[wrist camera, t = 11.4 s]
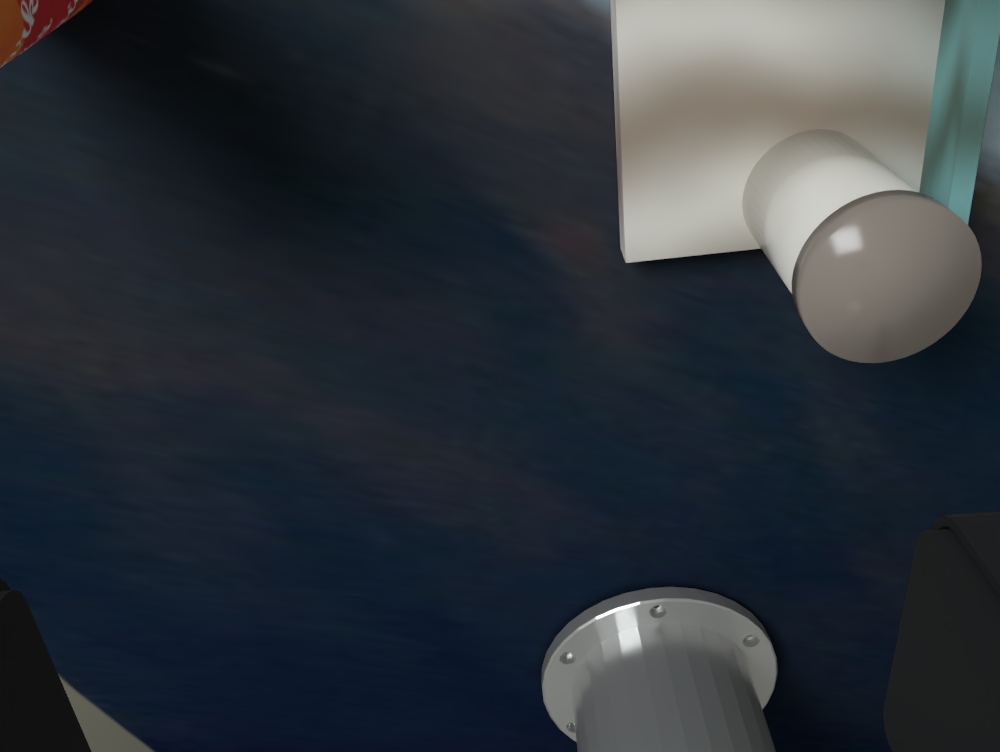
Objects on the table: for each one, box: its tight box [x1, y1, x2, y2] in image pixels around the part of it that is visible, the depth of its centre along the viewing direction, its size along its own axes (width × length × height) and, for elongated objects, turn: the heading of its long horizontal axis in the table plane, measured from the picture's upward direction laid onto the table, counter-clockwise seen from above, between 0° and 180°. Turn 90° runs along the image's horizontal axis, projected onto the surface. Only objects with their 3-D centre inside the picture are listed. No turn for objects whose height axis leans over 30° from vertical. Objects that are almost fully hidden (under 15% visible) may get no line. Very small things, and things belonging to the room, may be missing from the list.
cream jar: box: [742, 129, 982, 363], centre depth 31 cm, size 5×5×8 cm
